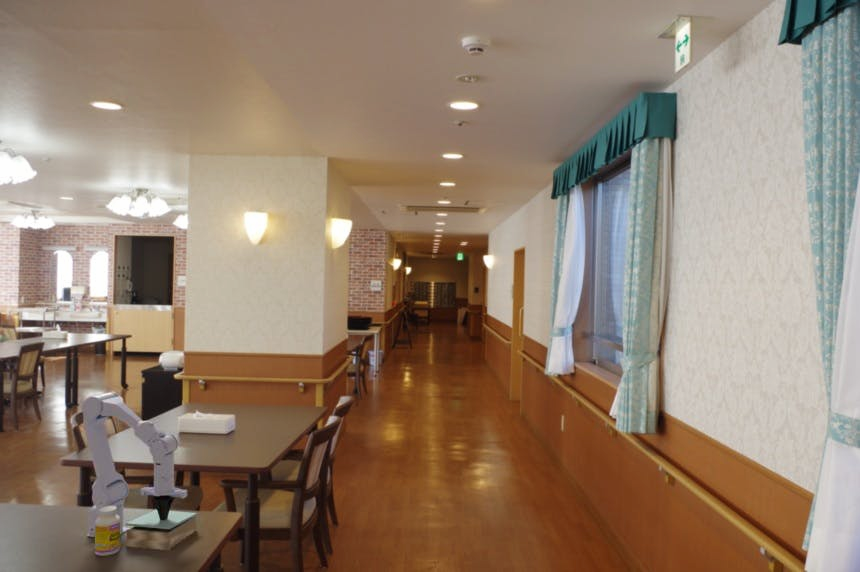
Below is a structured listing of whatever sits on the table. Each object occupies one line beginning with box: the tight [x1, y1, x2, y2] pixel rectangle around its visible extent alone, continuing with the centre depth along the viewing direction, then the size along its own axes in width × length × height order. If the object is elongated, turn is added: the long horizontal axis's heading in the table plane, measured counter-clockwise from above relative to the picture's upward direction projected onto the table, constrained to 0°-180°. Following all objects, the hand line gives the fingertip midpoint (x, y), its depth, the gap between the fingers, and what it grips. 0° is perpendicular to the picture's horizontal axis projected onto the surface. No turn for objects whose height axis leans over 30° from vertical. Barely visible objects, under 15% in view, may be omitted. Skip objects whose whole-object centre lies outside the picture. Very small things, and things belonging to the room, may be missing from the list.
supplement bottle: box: [94, 506, 121, 557], centre depth 188 cm, size 7×7×13 cm
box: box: [126, 515, 197, 551], centre depth 198 cm, size 14×15×5 cm
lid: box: [125, 509, 198, 529], centre depth 198 cm, size 14×15×1 cm
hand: (163, 519), depth 197 cm, fingers closed, pressing on lid
